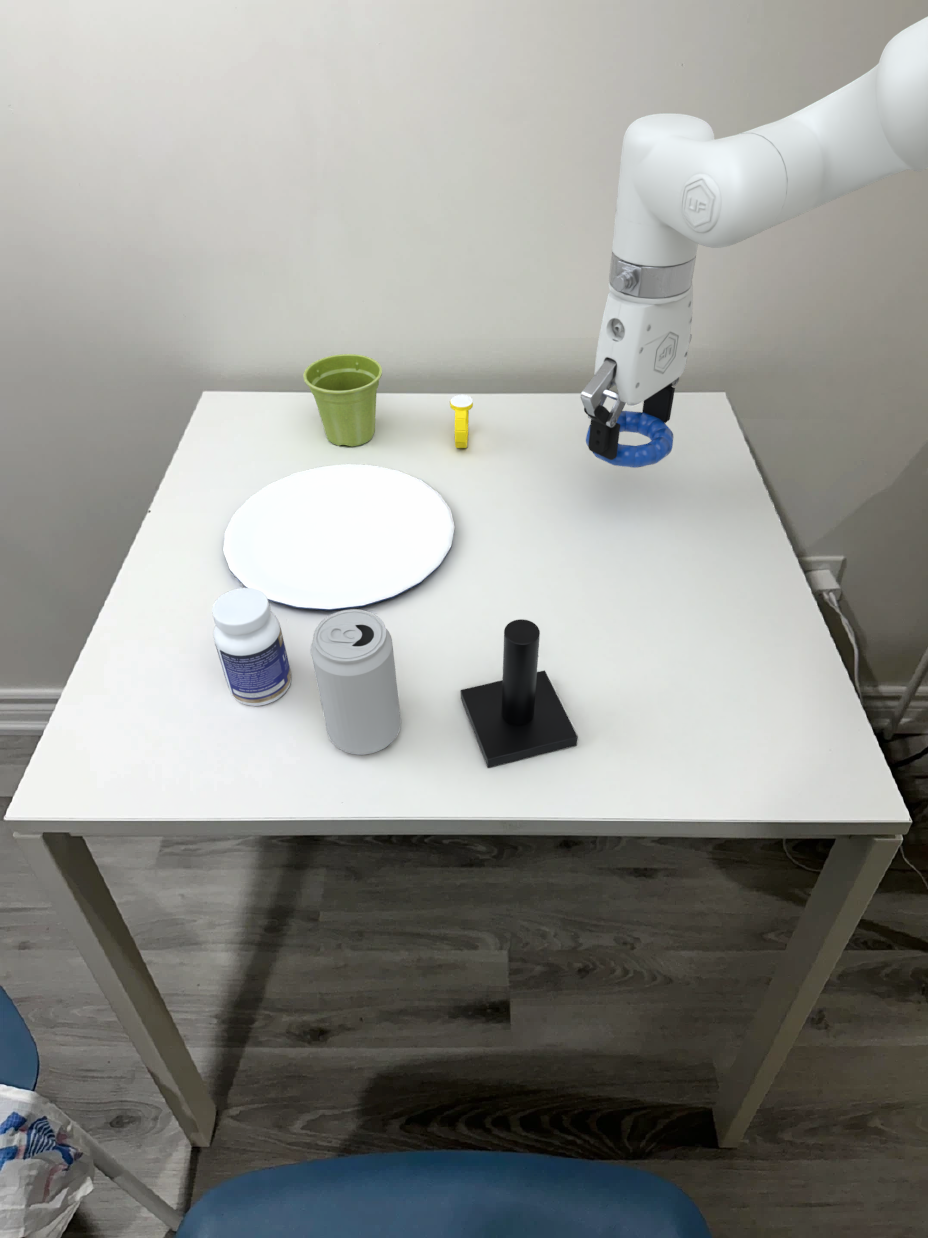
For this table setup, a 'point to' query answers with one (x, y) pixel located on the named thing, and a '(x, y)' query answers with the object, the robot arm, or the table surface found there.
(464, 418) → the watch
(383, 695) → the beverage can
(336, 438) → the plant pot
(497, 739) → the peg stand
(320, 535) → the plate
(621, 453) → the ring
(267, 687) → the pill bottle
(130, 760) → the table surface
